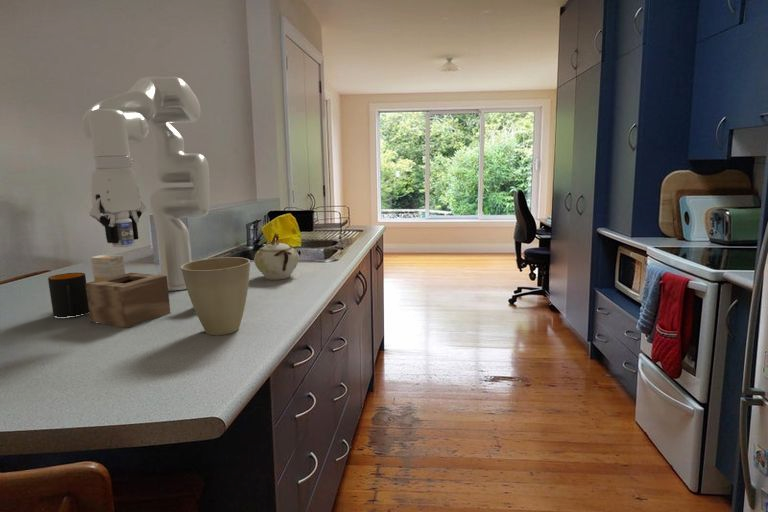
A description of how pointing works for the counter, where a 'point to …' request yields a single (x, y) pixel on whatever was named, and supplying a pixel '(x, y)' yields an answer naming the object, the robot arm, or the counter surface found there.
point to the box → (128, 299)
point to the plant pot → (218, 292)
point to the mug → (68, 294)
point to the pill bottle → (124, 230)
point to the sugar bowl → (276, 260)
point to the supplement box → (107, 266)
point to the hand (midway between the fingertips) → (123, 240)
